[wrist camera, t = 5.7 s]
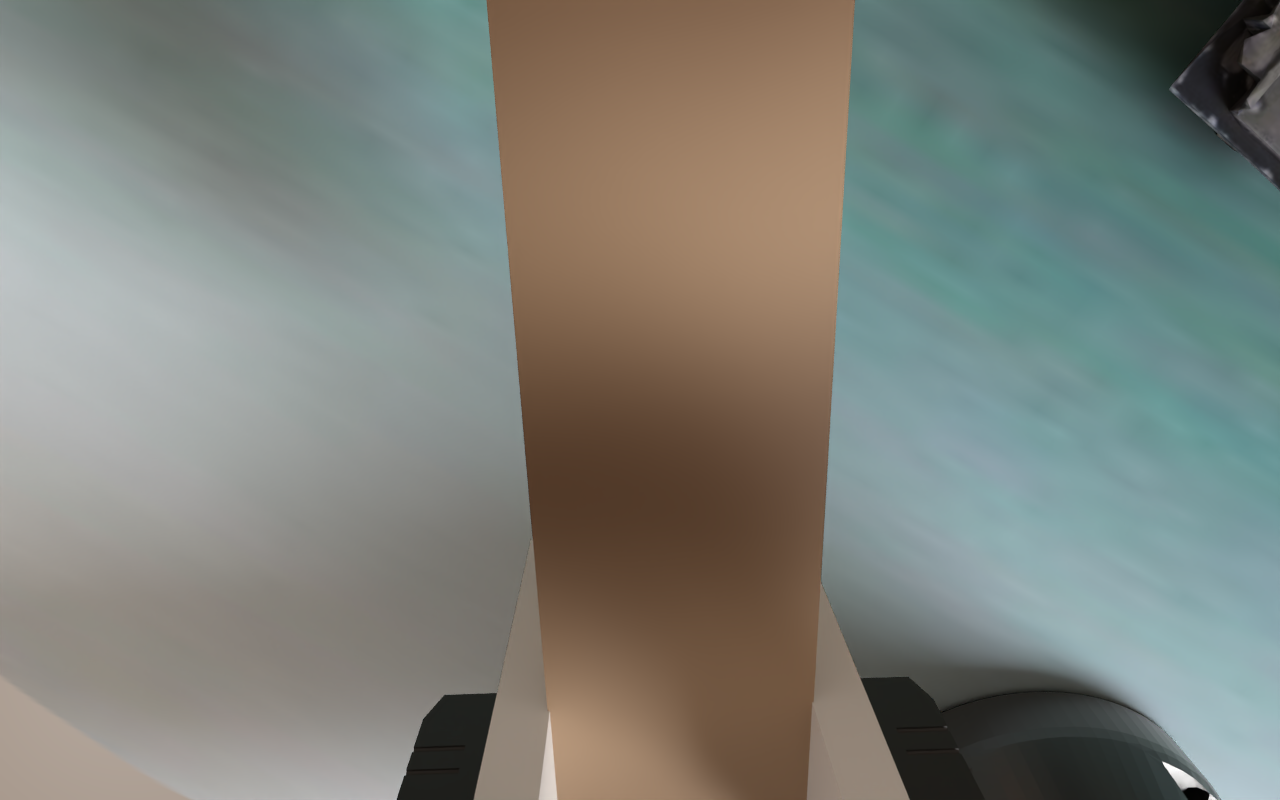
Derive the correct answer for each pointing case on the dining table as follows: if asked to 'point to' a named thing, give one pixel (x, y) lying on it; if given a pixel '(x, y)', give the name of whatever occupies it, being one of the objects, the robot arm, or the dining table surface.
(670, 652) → the tan long block
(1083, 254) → the dining table surface
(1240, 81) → the vintage camera
